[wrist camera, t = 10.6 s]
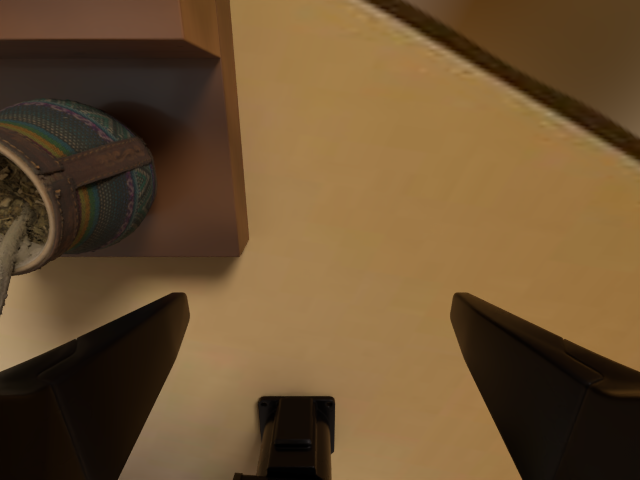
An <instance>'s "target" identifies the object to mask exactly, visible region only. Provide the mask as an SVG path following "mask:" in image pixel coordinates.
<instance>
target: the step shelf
mask: <svg viewBox="0 0 640 480" xmlns="http://www.w3.org/2000/svg"><path fill="white" fill-rule="evenodd" d="M35 98H37V99H42V98H44V99H48V98H49V99H60V100H66V99H69V100H71V101H77V102H80V103H82V104H86V105H89V106H92V107H94V108H97V109H101V110H104V111H105V112H107V113H110V114H112V115H113V116H115V117H116V118H118V119H119V120H120V121H122V122H124V123H125V124H126V125H127V126H128V127H129V128H130V129H131V130H132V131H133V132H135V133H136V134H137V135H138V136H140V138H143V141H144V142H145V143H146V144H147V145H146V146H145V147H147V148H148V149H150V151H151V153H152V156H153V159H154V165H155V170H156V177H157V192H156V193H157V194H156V197H155V200H154V202H153V204H152V206H151V208H150V210H149V212H148V213H147V216H146V217H145V218H144V220H143V221H142V222H141V224H140V226H139V227H138V228H137V229H136V230H135V231H134V232H132V233H131V234H130V235H129V236H127V237H126V238H124V239H123V240H121V241H120V242H119V243H116V244H115V245H112V246H109V247H107V248H104V249H100V250H96V251H95V252H88V253H81V254H62V255H61V256H60V257H240V255H241V253H242V251H243V250H244V248H245V246H246V244H247V242H248V240H249V232H248V220H247V208H246V196H245V184H244V171H243V159H242V147H241V135H240V123H239V110H238V98H237V86H236V74H235V62H234V49H233V37H232V25H231V13H230V1H229V0H0V110H2V109H4V108H7V107H9V106H12V105H15V104H17V103H21V102H24V101H30V100H36V99H35Z"/></svg>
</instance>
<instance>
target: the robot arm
mask: <svg viewBox="0 0 640 480" xmlns="http://www.w3.org/2000/svg"><path fill="white" fill-rule="evenodd" d="M189 319H190V312H189V306H188V300H187V296H186V294H185V293H171V294H169V295H167V296H164V297H162V298H160V299H158V300H156V301H154V302H152V303H150V304H148V305H146V306H143V307H141V308H139V309H137V310H135V311H133V312H131V313H129V314H127V315H125V316H122V317H120V318H118V319H116V320H114V321H112V322H110V323H108V324H106V325H103V326H101V327H99V328H97V329H95V330H93V331H91V332H89V333H87V334H85V335H82V336H80V337H78V338H77V340H76V339H74V340H72V341H70V342H68V343H65V344H63V345H61V346H59V347H57V348H55V349H53V350H50V351H48V352H46V353H44V354H41V355H39V356H37V357H34V358H32V359H30V360H28V361H25V362H23V363H21V364H18V365H16V366H13V367H11V368H9V369H6V370H4V371H1V372H0V480H118V478H119V476H120V474H121V472H122V470H123V468H124V465H125V463H126V461H127V459H128V457H129V455H130V453H131V451H132V449H133V447H134V445H135V443H136V441H137V439H138V437H139V434H140V432H141V430H142V428H143V426H144V424H145V422H146V420H147V418H148V416H149V414H150V412H151V410H152V408H153V406H154V403H155V401H156V399H157V397H158V395H159V393H160V391H161V389H162V387H163V385H164V383H165V381H166V379H167V377H168V375H169V372H170V370H171V368H172V366H173V364H174V362H175V360H176V357H177V354H178V352H179V349H180V346H181V343H182V340H183V337H184V334H185V331H186V329H187V326H188V323H189ZM450 319H451V323H452V326H453V329H454V331H455V334H456V337H457V340H458V343H459V346H460V349H461V352H462V354H463V357H464V360H465V362H466V364H467V366H468V368H469V370H470V372H471V375H472V377H473V379H474V381H475V383H476V385H477V387H478V389H479V391H480V393H481V395H482V397H483V399H484V401H485V403H486V406H487V408H488V410H489V412H490V414H491V416H492V418H493V420H494V422H495V424H496V426H497V428H498V430H499V432H500V434H501V437H502V439H503V441H504V443H505V445H506V447H507V449H508V451H509V453H510V455H511V457H512V459H513V461H514V463H515V465H516V468H517V470H518V472H519V474H520V476H521V478H522V480H640V372H639V371H636V370H634V369H631V368H629V367H627V366H624V365H622V364H619V363H617V362H615V361H612V360H610V359H608V358H606V357H603V356H601V355H599V354H596V353H594V352H592V351H590V350H587V349H585V348H583V347H581V346H579V345H577V344H575V343H572V342H570V341H568V340H566V339H564V340H563V338H562V337H560V336H558V335H555V334H553V333H551V332H549V331H547V330H545V329H543V328H541V327H539V326H537V325H534V324H532V323H530V322H528V321H526V320H524V319H522V318H520V317H518V316H515V315H513V314H511V313H509V312H507V311H505V310H503V309H501V308H499V307H497V306H494V305H492V304H490V303H488V302H486V301H484V300H482V299H480V298H478V297H476V296H473V295H471V294H469V293H455V294H454V296H453V300H452V306H451V312H450ZM263 402H265V403H263ZM328 402H330V403H328ZM258 408H259V419H260V430H261V442H262V445H261V450H260V456H259V462H258V468H257V474H256V476H255V475H243V473H235V475H234V478H233V480H332V478H331V454H332V453H333V452H334V430H335V399H334V398H333V397H330V396H263V397H261V398H260V399H259V403H258Z"/></svg>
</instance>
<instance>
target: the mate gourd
mask: <svg viewBox="0 0 640 480" xmlns="http://www.w3.org/2000/svg"><path fill="white" fill-rule="evenodd" d="M35 99H36V100H30V101H24V102H21V103H17V104H15V105H12V106H9V107H7V108H4V109H2V110H0V315H2V308H3V306H5V299H6V298H7V296H8V295H7V291H8V287H9V283H10V279H11V276H15V275H21V274H27V273H30V272H32V271H35V270H37V269H41V267H42V266H44V265H46V264H47V263H48V262H50V261H52V260H54V259H56V258H57V257H60V256H61V255H62V254H81V253H88V252H95V251H96V250H100V249H104V248H107V247H109V246H112V245H115V244H116V243H119V242H120V241H121V240H123V239H124V238H126V237H127V236H129V235H130V234H131V233H132V232H134V231H135V230H136V229H137V228H138V227H139V226H140V224H141V222H142V221H143V220H144V218H145V217H146V216H147V213H148V212H149V210H150V208H151V206H152V204H153V202H154V200H155V197H156V194H157V193H156V192H157V177H156V170H155V165H154V159H153V156H152V153H151V151H150V149H148V148H147V147H145V146H146V145H147V144H146V143H145V142H144V141H143V138H140V136H138V135H137V134H136V133H135V132H133V131H132V130H131V129H130V128H129V127H128V126H127V125H126V124H125V123H124V122H122V121H120V120H119V119H118V118H116V117H115V116H113V115H112V114H110V113H107V112H105V111H104V110H101V109H97V108H94V107H92V106H89V105H86V104H82V103H80V102H77V101H71V100H69V99H66V100H60V99H49V98H48V99H44V98H42V99H37V98H35Z"/></svg>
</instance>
